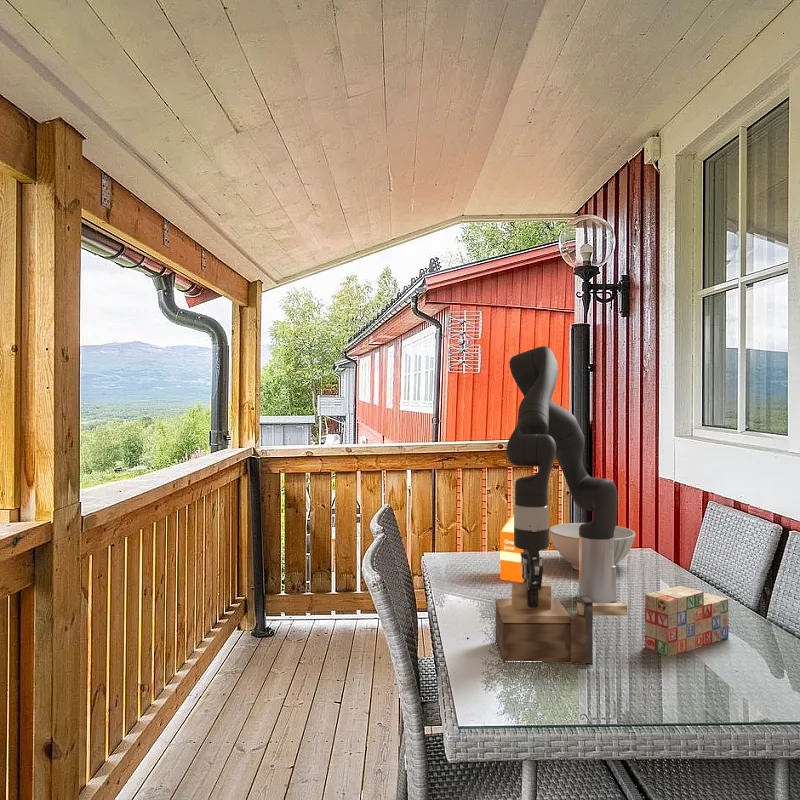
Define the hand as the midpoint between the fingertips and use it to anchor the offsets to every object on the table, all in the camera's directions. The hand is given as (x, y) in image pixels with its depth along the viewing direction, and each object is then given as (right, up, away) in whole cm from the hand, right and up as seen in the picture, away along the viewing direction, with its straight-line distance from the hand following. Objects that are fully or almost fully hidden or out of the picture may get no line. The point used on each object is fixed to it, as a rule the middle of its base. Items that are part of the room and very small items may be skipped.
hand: (531, 604), depth 151 cm
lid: (0, -3, 0) cm, 3 cm away
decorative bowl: (+33, -10, +73) cm, 81 cm away
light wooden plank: (+14, -1, -5) cm, 15 cm away
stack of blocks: (+36, -11, +5) cm, 38 cm away
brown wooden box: (+2, -10, 0) cm, 11 cm away
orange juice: (+7, -10, +61) cm, 62 cm away
